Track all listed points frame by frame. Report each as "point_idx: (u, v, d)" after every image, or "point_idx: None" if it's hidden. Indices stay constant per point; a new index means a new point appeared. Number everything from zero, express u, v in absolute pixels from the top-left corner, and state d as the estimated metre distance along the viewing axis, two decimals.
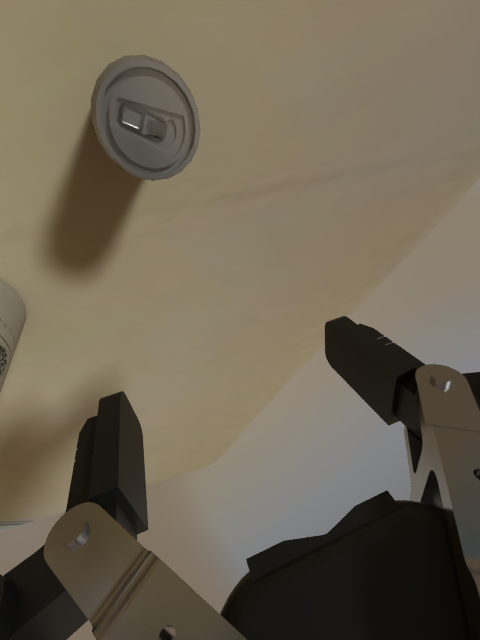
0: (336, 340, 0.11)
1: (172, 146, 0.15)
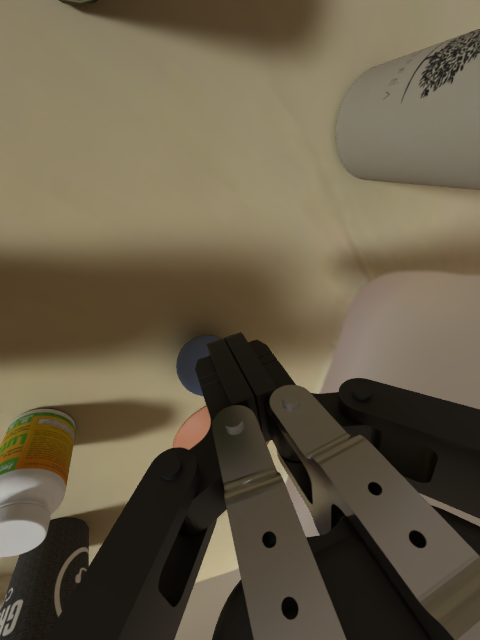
0: None
1: None
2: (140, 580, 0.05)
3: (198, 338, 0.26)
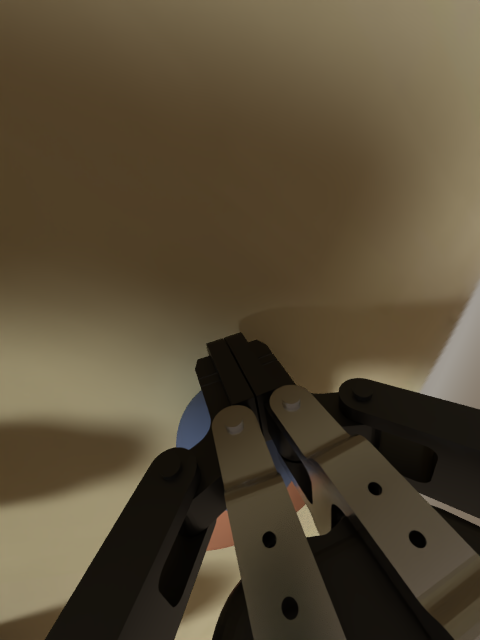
0: None
1: None
2: (140, 580, 0.05)
3: None
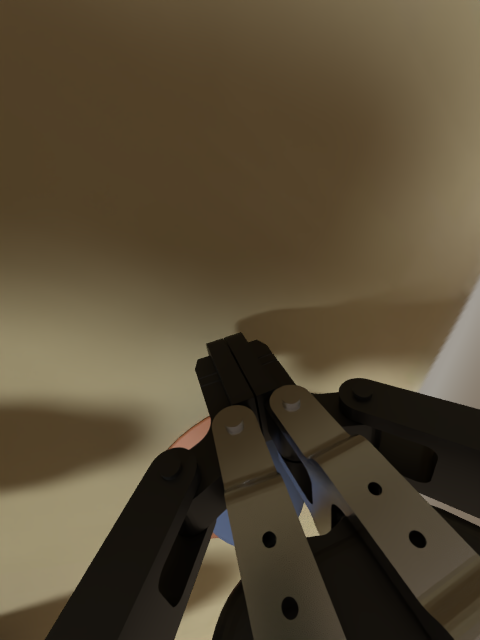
0: None
1: None
2: (140, 580, 0.05)
3: None
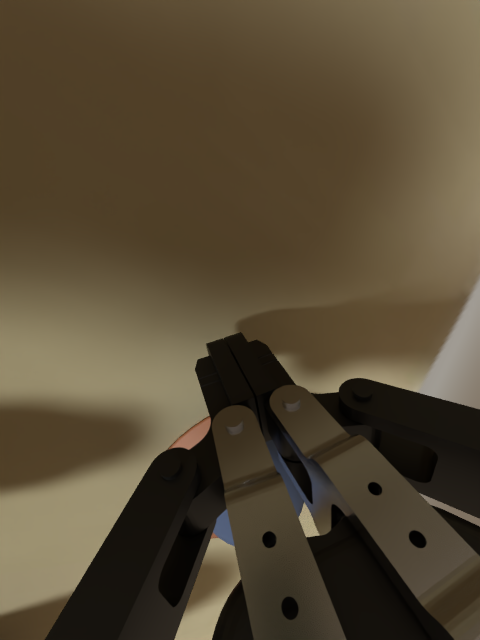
0: None
1: None
2: (140, 580, 0.05)
3: None
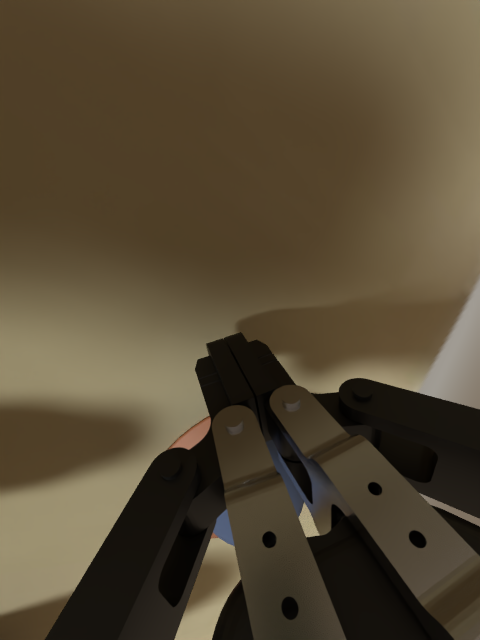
0: None
1: None
2: (140, 580, 0.05)
3: None
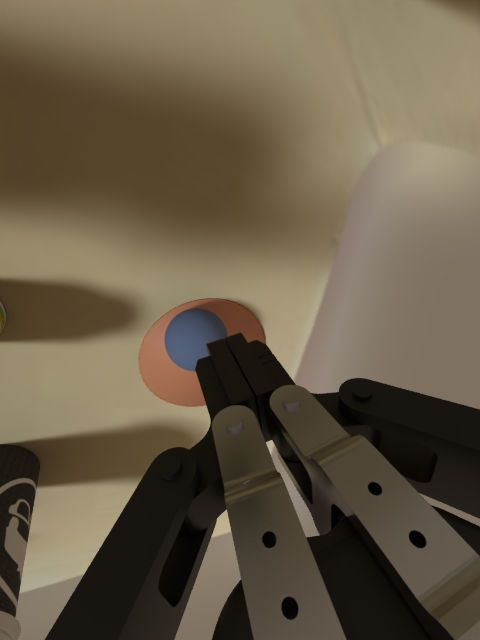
0: None
1: None
2: (140, 580, 0.05)
3: None
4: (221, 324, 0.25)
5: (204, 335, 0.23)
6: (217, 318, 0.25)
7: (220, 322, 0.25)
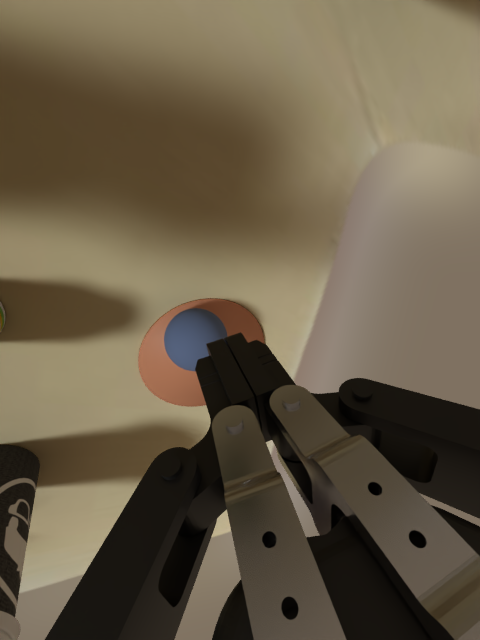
0: None
1: None
2: (140, 580, 0.05)
3: None
4: (221, 324, 0.25)
5: (203, 335, 0.23)
6: (217, 318, 0.25)
7: (220, 322, 0.25)
